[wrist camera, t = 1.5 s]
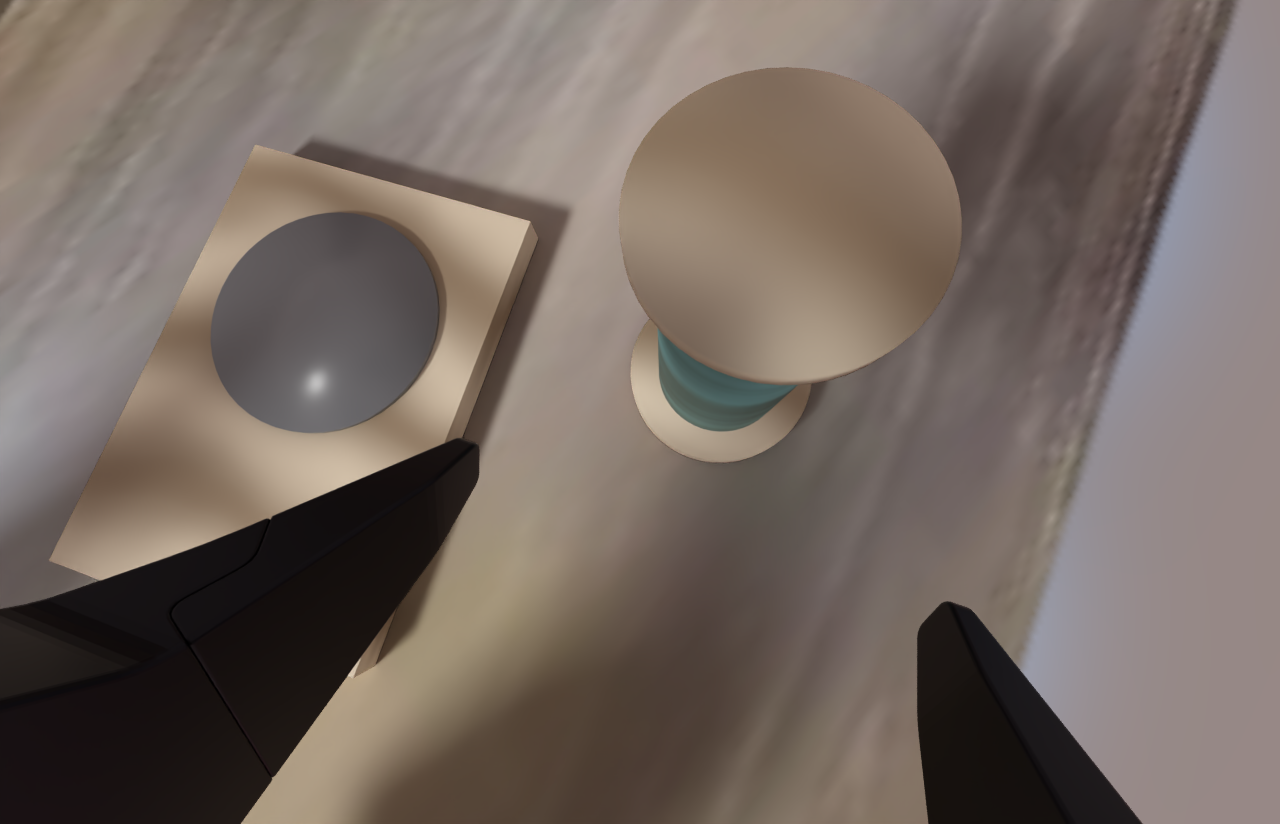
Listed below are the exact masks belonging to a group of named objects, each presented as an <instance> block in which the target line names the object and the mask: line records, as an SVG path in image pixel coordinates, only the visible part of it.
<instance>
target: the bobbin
mask: <svg viewBox="0 0 1280 824" xmlns="http://www.w3.org/2000/svg"><path fill="white" fill-rule="evenodd" d="M619 233H620V239H621V246H622V252H623V259H624V265H625V268H626V271H627V275H628V278H629V281H630V284H631V286H632V288H633V290H634V293H635V295H636V297H637V299H638V301H639V303H640V304H641V306H642V308H643V309H644V311H645V312H646V314H647V315H648V317H649V318H650V319H649V320H648V322H647V323H646V324H645V326H644V327H643V329H642V331H641V332H640V334H639V336H638V339H637V341H636V344H635V347H634V350H633V354H632V360H631V384H632V390H633V394H634V398H635V401H636V405H637V407H638V410H639V412H640V414H641V417H642V418H643V420H644V421H645V423H646V425H647V426H648V428H649V429H650V430H651V431H652V433H653V434H654V435H655V436H656V437H657V438H658V439H659V440H660V441H661V442H662V443H664V444H665V445H667V446H668V447H669V448H671V449H672V450H674V451H676V452H678V453H679V454H681V455H684V456H686V457H689V458H691V459H695V460H699V461H703V462H710V463H730V462H736V461H741V460H744V459H748V458H751V457H753V456H755V455H757V454H760V453H762V452H763V451H765V450H767V449H769V448H770V447H772V446H773V445H775V444H776V443H778V442H779V441H780V440H781V439H783V438H784V437H785V436H786V435H787V434H788V433H789V432H790V431H791V430H792V429H793V427H794V426H795V424H796V423H797V422H798V420H799V419H800V417H801V415H802V413H803V411H804V409H805V407H806V404H807V401H808V398H809V394H810V389H811V383H818V382H824V381H828V380H831V379H835V378H838V377H842V376H845V375H848V374H850V373H852V372H855V371H857V370H859V369H861V368H864V367H866V366H868V365H869V364H871V363H873V362H874V361H876V360H877V359H879V358H881V357H882V356H884V355H886V354H887V353H889V352H890V351H891V350H893V349H894V348H896V347H897V346H899V345H900V344H901V343H902V342H904V341H905V340H906V339H907V338H909V337H910V336H911V335H912V334H913V333H915V332H916V331H917V330H918V329H919V328H920V326H921V325H922V324H923V323H924V322H925V321H926V320H927V319H928V318H929V317H930V316H931V314H932V313H933V311H934V310H935V308H936V307H937V305H938V304H939V302H940V301H941V300H942V298H943V296H944V294H945V292H946V290H947V288H948V286H949V284H950V282H951V280H952V277H953V274H954V271H955V268H956V265H957V262H958V258H959V252H960V245H961V239H962V215H961V208H960V201H959V195H958V192H957V188H956V185H955V181H954V178H953V175H952V173H951V171H950V169H949V167H948V164H947V162H946V160H945V158H944V156H943V155H942V153H941V151H940V150H939V148H938V146H937V145H936V143H935V142H934V140H933V139H932V138H931V137H930V135H929V134H928V133H927V132H926V130H925V129H924V128H923V127H922V126H921V124H920V123H919V122H918V121H916V120H915V119H914V118H913V117H912V116H911V115H910V114H909V113H908V112H907V111H906V110H905V109H903V108H902V107H901V106H899V105H898V104H897V103H895V102H894V101H893V100H891V99H890V98H888V97H887V96H885V95H883V94H881V93H880V92H878V91H876V90H874V89H873V88H871V87H869V86H867V85H864V84H862V83H860V82H857V81H855V80H852V79H850V78H847V77H843V76H840V75H837V74H833V73H830V72H824V71H819V70H813V69H805V68H789V67H786V68H766V69H760V70H754V71H747V72H743V73H740V74H736V75H732V76H729V77H725V78H723V79H721V80H718V81H716V82H713V83H711V84H708V85H706V86H704V87H703V88H701V89H699V90H697V91H695V92H694V93H692V94H690V95H688V96H687V97H686V98H684V99H683V100H682V101H680V102H679V103H677V104H676V105H675V106H673V107H672V108H671V109H670V110H669V111H668V112H667V113H666V114H665V115H664V116H663V117H661V118H660V119H659V120H658V121H657V123H656V124H655V125H654V126H653V127H652V129H651V130H650V131H649V132H648V134H647V135H646V136H645V138H644V139H643V141H642V142H641V144H640V146H639V147H638V149H637V151H636V152H635V154H634V156H633V159H632V161H631V163H630V165H629V168H628V170H627V173H626V176H625V180H624V183H623V187H622V191H621V198H620V205H619Z"/></svg>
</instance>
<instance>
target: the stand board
mask: <svg viewBox="0 0 1280 824" xmlns="http://www.w3.org/2000/svg"><path fill="white" fill-rule="evenodd" d="M537 241H538V237H537V234H536V232H535V230H534V228H533V226H532V224H531V222H530V221H527V220H524V219H520V218H517V217H513V216H509V215H506V214H502V213H499V212H495V211H491V210H488V209H484V208H481V207H477V206H474V205H470V204H466V203H463V202H459V201H456V200H452V199H448V198H445V197H441V196H438V195H434V194H431V193H427V192H423V191H420V190H416V189H413V188H409V187H405V186H402V185H398V184H395V183H391V182H388V181H384V180H380V179H377V178H373V177H370V176H366V175H362V174H359V173H355V172H352V171H348V170H345V169H341V168H337V167H334V166H330V165H327V164H323V163H319V162H316V161H312V160H309V159H305V158H301V157H298V156H294V155H291V154H287V153H284V152H280V151H276V150H273V149H269V148H266V147H262V146H258V145H255V146H254V148H253V150H252V152H251V154H250V156H249V158H248V160H247V162H246V164H245V166H244V168H243V170H242V172H241V174H240V176H239V178H238V180H237V182H236V184H235V187H234V189H233V191H232V193H231V195H230V197H229V199H228V201H227V203H226V205H225V207H224V209H223V211H222V213H221V215H220V217H219V219H218V221H217V223H216V225H215V227H214V229H213V231H212V233H211V235H210V237H209V239H208V241H207V243H206V245H205V247H204V249H203V251H202V253H201V255H200V257H199V259H198V261H197V263H196V265H195V267H194V269H193V271H192V273H191V275H190V277H189V279H188V281H187V283H186V285H185V287H184V289H183V291H182V293H181V295H180V297H179V299H178V301H177V303H176V305H175V307H174V309H173V311H172V313H171V315H170V317H169V319H168V321H167V323H166V325H165V327H164V329H163V331H162V333H161V335H160V337H159V339H158V341H157V343H156V345H155V347H154V349H153V351H152V353H151V355H150V358H149V360H148V362H147V364H146V366H145V368H144V370H143V372H142V374H141V376H140V378H139V380H138V382H137V384H136V386H135V388H134V390H133V392H132V394H131V396H130V398H129V400H128V402H127V404H126V406H125V408H124V410H123V412H122V414H121V416H120V418H119V420H118V422H117V424H116V426H115V428H114V430H113V432H112V434H111V436H110V438H109V440H108V442H107V444H106V446H105V448H104V450H103V452H102V454H101V456H100V458H99V460H98V462H97V464H96V466H95V468H94V470H93V472H92V474H91V476H90V478H89V480H88V482H87V484H86V486H85V488H84V490H83V492H82V494H81V496H80V498H79V500H78V502H77V504H76V506H75V508H74V510H73V512H72V514H71V516H70V518H69V520H68V522H67V524H66V526H65V529H64V531H63V533H62V535H61V537H60V539H59V541H58V543H57V545H56V547H55V549H54V551H53V553H52V555H51V557H50V559H49V561H51V562H54V563H56V564H59V565H61V566H64V567H67V568H69V569H72V570H74V571H77V572H80V573H82V574H85V575H87V576H90V577H93V578H95V579H98V580H103V579H106V578H109V577H112V576H115V575H118V574H121V573H123V572H126V571H129V570H132V569H135V568H138V567H141V566H144V565H146V564H149V563H152V562H155V561H158V560H161V559H164V558H166V557H169V556H172V555H175V554H177V553H180V552H183V551H186V550H188V549H191V548H194V547H196V546H199V545H202V544H205V543H207V542H210V541H212V540H215V539H217V538H220V537H222V536H225V535H227V534H230V533H232V532H235V531H237V530H240V529H242V528H245V527H247V526H249V525H252V524H254V523H256V522H259V521H261V520H263V519H266V518H269V519H271V517H272V516H273V515H276V514H278V513H280V512H283V511H285V510H287V509H290V508H292V507H294V506H297V505H299V504H302V503H304V502H306V501H309V500H311V499H313V498H316V497H318V496H320V495H323V494H325V493H328V492H330V491H332V490H335V489H337V488H339V487H342V486H344V485H346V484H349V483H351V482H353V481H356V480H358V479H361V478H363V477H365V476H368V475H370V474H372V473H375V472H377V471H379V470H382V469H384V468H387V467H389V466H391V465H394V464H396V463H398V462H401V461H403V460H405V459H408V458H410V457H412V456H415V455H417V454H420V453H422V452H424V451H427V450H429V449H431V448H434V447H436V446H438V445H441V444H443V443H446V442H448V441H450V440H453V439H455V438H462V437H463V434H464V432H465V429H466V426H467V424H468V421H469V419H470V416H471V413H472V411H473V408H474V405H475V403H476V400H477V398H478V395H479V392H480V390H481V387H482V385H483V382H484V379H485V377H486V374H487V372H488V369H489V366H490V364H491V361H492V358H493V356H494V353H495V351H496V348H497V345H498V343H499V340H500V338H501V335H502V332H503V330H504V327H505V325H506V322H507V319H508V317H509V314H510V311H511V309H512V306H513V304H514V301H515V298H516V296H517V293H518V291H519V288H520V285H521V283H522V280H523V278H524V275H525V272H526V270H527V267H528V264H529V262H530V259H531V257H532V254H533V251H534V249H535V246H536V244H537ZM396 609H397V608H396ZM395 612H396V610H395V611H394V612H393V614H392V615H391V617H390V618H389V619H388V621H387V622H386V624H385V625H384V626H383V628H382V629H381V630H380V632H379V633H378V635H377V636H376V637H375V639H374V640H373V641H372V643H371V644H370V646H369V647H368V648H367V650H366V651H365V652H364V654H363V655H362V657H361V658H360V659H359V661H358V662H357V663H356V665H355V666H354V668H353V669H352V670H351V672H350V673H349V675H348V676H349V677H351V678H354V677H356V676H358V675H360V674H361V673H363V672H365V671H367V670H369V669H370V668H372V667H374V666H375V664H376V661H377V659H378V656H379V654H380V651H381V648H382V646H383V643H384V640H385V638H386V635H387V633H388V630H389V627H390V625H391V622H392V620H393V617H394V614H395Z"/></svg>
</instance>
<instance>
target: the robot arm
mask: <svg viewBox="0 0 1280 824" xmlns="http://www.w3.org/2000/svg"><path fill="white" fill-rule="evenodd" d="M478 478H479V446H478V444H477V443H475V442H472V441H469V440H466V439H463V438H455V439H453V440H450V441H448V442H446V443H443V444H441V445H438V446H436V447H434V448H431V449H429V450H427V451H424V452H422V453H420V454H417V455H415V456H412V457H410V458H408V459H405V460H403V461H401V462H398V463H396V464H394V465H391V466H389V467H387V468H384V469H382V470H379V471H377V472H375V473H372V474H370V475H368V476H365V477H363V478H361V479H358V480H356V481H353V482H351V483H349V484H346V485H344V486H342V487H339V488H337V489H335V490H332V491H330V492H328V493H325V494H323V495H320V496H318V497H316V498H313V499H311V500H309V501H306V502H304V503H302V504H299V505H297V506H294V507H292V508H290V509H287V510H285V511H283V512H280V513H278V514H276V515H273V516H272V517H271V519H269V518H266V519H263V520H261V521H259V522H256V523H254V524H252V525H249V526H247V527H245V528H242V529H240V530H237V531H235V532H232V533H230V534H227V535H225V536H222V537H220V538H217V539H215V540H212V541H210V542H207V543H205V544H202V545H199V546H196V547H194V548H191V549H188V550H186V551H183V552H180V553H177V554H175V555H172V556H169V557H166V558H164V559H161V560H158V561H155V562H152V563H149V564H146V565H144V566H141V567H138V568H135V569H132V570H129V571H126V572H123V573H121V574H118V575H115V576H112V577H109V578H106V579H103V580H100V581H98V582H95V583H92V584H89V585H86V586H83V587H80V588H78V589H75V590H72V591H69V592H66V593H63V594H60V595H57V596H54V597H50V598H47V599H44V600H40V601H36V602H32V603H28V604H24V605H19V606H14V607H9V608H3V609H0V824H241V822H242V821H243V820H244V818H245V817H246V816H247V814H248V813H249V811H250V810H251V809H252V807H253V806H254V805H255V803H256V802H257V800H258V799H259V798H260V796H261V795H262V794H263V792H264V791H265V789H266V788H267V787H268V785H269V784H270V782H271V781H272V777H274V776H275V775H276V774H277V772H278V771H279V770H280V768H281V767H282V765H283V764H284V763H285V761H286V760H287V759H288V757H289V756H290V754H291V753H292V752H293V750H294V749H295V748H296V746H297V745H298V743H299V742H300V741H301V739H302V738H303V737H304V735H305V734H306V732H307V731H308V730H309V728H310V727H311V726H312V724H313V723H314V721H315V720H316V719H317V717H318V716H319V714H320V713H321V712H322V710H323V709H324V708H325V706H326V705H327V703H328V702H329V701H330V699H331V698H332V697H333V695H334V694H335V692H336V691H337V690H338V688H339V687H340V686H341V684H342V683H343V681H344V680H345V679H346V677H347V676H348V675H349V673H350V672H351V670H352V669H353V668H354V666H355V665H356V663H357V662H358V661H359V659H360V658H361V657H362V655H363V654H364V652H365V651H366V650H367V648H368V647H369V646H370V644H371V643H372V641H373V640H374V639H375V637H376V636H377V635H378V633H379V632H380V630H381V629H382V628H383V626H384V625H385V624H386V622H387V621H388V619H389V618H390V617H391V615H392V614H393V612H394V611H395V610H396V608H397V607H398V606H399V604H400V603H401V601H402V600H403V599H404V597H405V596H406V595H407V593H408V592H409V590H410V589H411V588H412V586H413V585H414V584H415V582H416V581H417V579H418V578H419V577H420V575H421V574H422V573H423V571H424V570H425V568H426V567H427V566H428V564H429V563H430V562H431V560H432V559H433V557H434V556H435V554H436V553H437V551H438V550H439V548H440V547H441V545H442V543H443V542H444V540H445V538H446V537H447V535H448V533H449V531H450V530H451V528H452V526H453V524H454V523H455V521H456V519H457V517H458V515H459V514H460V512H461V510H462V508H463V507H464V505H465V503H466V501H467V500H468V498H469V496H470V494H471V493H472V491H473V489H474V487H475V485H476V483H477V481H478ZM917 717H918V732H919V742H920V751H921V760H922V769H923V778H924V787H925V796H926V806H927V815H928V824H1142V822H1141V821H1140V820H1139V819H1138V817H1137V816H1136V815H1135V814H1134V812H1133V811H1132V810H1131V809H1130V807H1129V806H1128V805H1127V803H1126V802H1125V801H1124V800H1123V799H1122V797H1121V796H1120V795H1119V793H1118V792H1117V791H1116V790H1115V789H1114V787H1113V786H1112V785H1111V783H1110V782H1109V781H1108V780H1107V779H1106V777H1105V776H1104V775H1103V773H1102V772H1101V771H1100V770H1099V768H1098V767H1097V766H1096V765H1095V763H1094V762H1093V761H1092V760H1091V758H1090V757H1089V756H1088V755H1087V753H1086V752H1085V751H1084V750H1083V748H1082V747H1081V746H1080V745H1079V743H1078V742H1077V741H1076V740H1075V738H1074V737H1073V736H1072V735H1071V733H1070V732H1069V731H1068V730H1067V728H1066V727H1065V726H1064V725H1063V723H1062V722H1061V721H1060V719H1059V718H1058V717H1057V716H1056V714H1055V713H1054V712H1053V711H1052V709H1051V708H1050V707H1049V706H1048V705H1047V703H1046V702H1045V701H1044V700H1043V698H1042V697H1041V696H1040V694H1039V693H1038V692H1037V691H1036V689H1035V688H1034V687H1033V686H1032V684H1031V683H1030V682H1029V681H1028V679H1027V678H1026V677H1025V676H1024V674H1023V673H1022V672H1021V671H1020V669H1019V668H1018V667H1017V666H1016V664H1015V663H1014V662H1013V661H1012V659H1011V658H1010V657H1009V656H1008V654H1007V653H1006V652H1005V651H1004V649H1003V648H1002V647H1001V646H1000V644H999V643H998V642H997V640H996V639H995V638H994V637H993V635H992V634H991V633H990V632H989V630H988V629H987V628H986V627H985V625H984V624H983V623H982V622H981V620H980V619H979V618H978V617H977V615H976V614H975V613H974V612H973V611H972V610H971V609H969V608H967V607H965V606H962V605H959V604H956V603H953V602H949V601H946V602H943V603H941V604H940V605H939V606H938V607H937V608H936V609H935V610H934V612H933V613H932V614H931V615H930V616H929V617H928V618H927V619H926V620H925V621H924V622H923V623H922V625H921V626H920V628H919V631H918V636H917Z"/></svg>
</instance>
